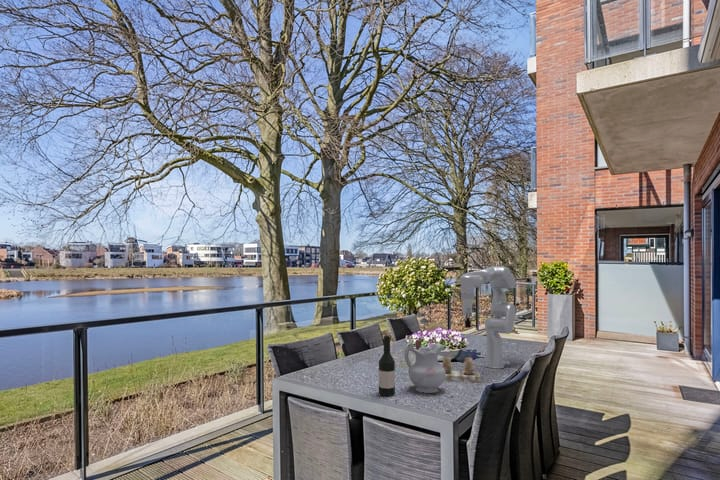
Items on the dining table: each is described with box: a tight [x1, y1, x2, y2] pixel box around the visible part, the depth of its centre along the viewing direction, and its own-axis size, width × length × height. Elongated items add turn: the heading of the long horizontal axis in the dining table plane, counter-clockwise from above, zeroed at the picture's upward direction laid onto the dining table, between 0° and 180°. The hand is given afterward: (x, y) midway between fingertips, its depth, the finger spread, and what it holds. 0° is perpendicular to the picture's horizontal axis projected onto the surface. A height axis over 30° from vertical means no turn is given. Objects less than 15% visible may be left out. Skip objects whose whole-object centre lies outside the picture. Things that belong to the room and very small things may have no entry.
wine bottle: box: [378, 334, 396, 398], centre depth 220 cm, size 8×8×30 cm
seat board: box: [442, 356, 482, 383], centre depth 249 cm, size 24×12×12 cm, turn 80°
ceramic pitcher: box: [404, 342, 445, 394], centre depth 227 cm, size 22×20×25 cm
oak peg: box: [464, 356, 474, 375], centre depth 248 cm, size 5×5×12 cm
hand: (467, 327), depth 254 cm, fingers closed
